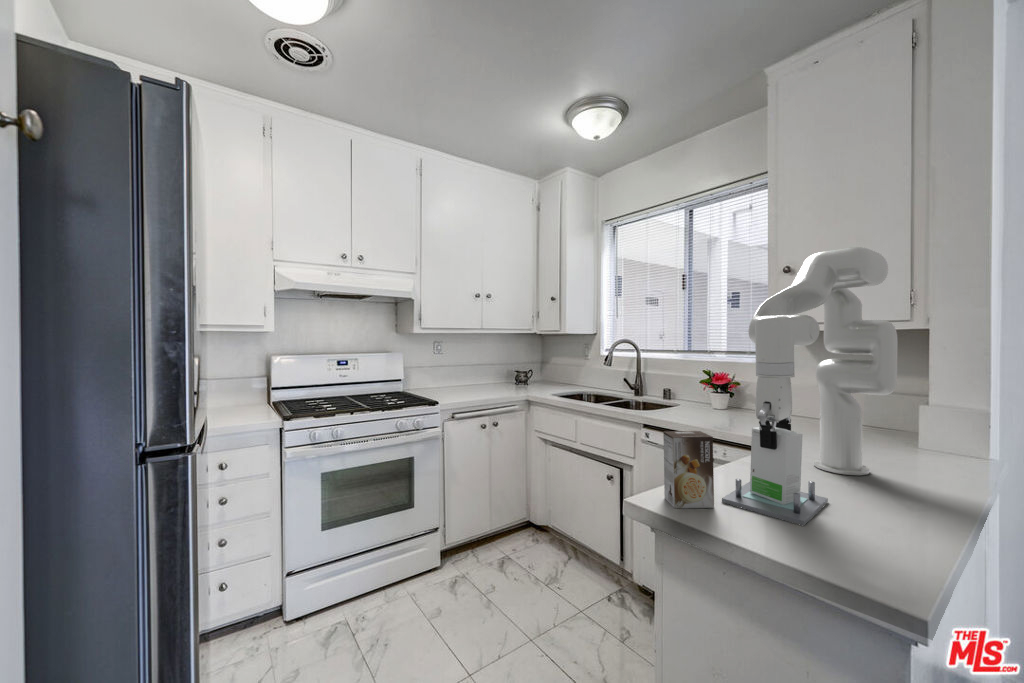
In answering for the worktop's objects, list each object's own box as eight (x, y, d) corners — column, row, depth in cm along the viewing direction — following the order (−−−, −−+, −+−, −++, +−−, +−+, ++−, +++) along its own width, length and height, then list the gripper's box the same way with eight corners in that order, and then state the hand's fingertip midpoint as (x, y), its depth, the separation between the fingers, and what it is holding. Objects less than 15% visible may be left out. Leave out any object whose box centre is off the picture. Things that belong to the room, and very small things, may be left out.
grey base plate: (752, 484, 107) (751, 479, 107) (827, 502, 95) (827, 497, 95) (721, 502, 96) (721, 497, 96) (803, 526, 83) (803, 520, 83)
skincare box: (749, 493, 98) (748, 427, 98) (766, 488, 101) (766, 424, 101) (785, 506, 90) (785, 434, 90) (803, 500, 93) (803, 431, 93)
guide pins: (754, 484, 104) (754, 468, 104) (815, 499, 94) (815, 482, 94) (734, 496, 96) (734, 479, 96) (799, 514, 87) (799, 495, 87)
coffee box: (701, 497, 99) (701, 430, 99) (714, 508, 92) (714, 436, 92) (663, 497, 99) (662, 430, 99) (673, 509, 92) (673, 437, 92)
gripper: (769, 366, 104) (771, 434, 104) (742, 372, 92) (743, 448, 93) (805, 367, 98) (806, 439, 98) (780, 374, 87) (781, 455, 87)
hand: (776, 443), depth 96 cm, fingers open, 9 cm apart
